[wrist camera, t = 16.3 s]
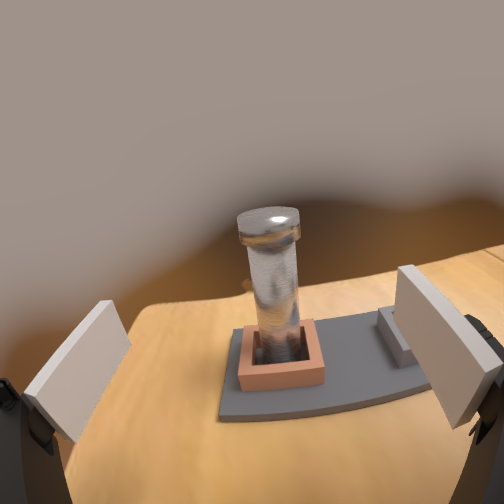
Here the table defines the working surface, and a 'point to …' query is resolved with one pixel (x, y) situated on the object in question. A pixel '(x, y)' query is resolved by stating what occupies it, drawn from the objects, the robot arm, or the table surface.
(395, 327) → the dock board
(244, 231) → the pin
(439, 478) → the table surface
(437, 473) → the table surface
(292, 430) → the table surface
